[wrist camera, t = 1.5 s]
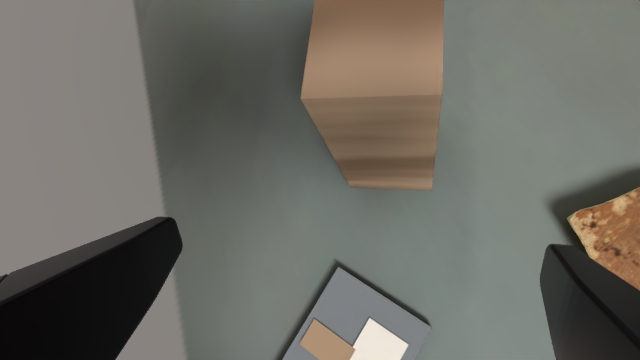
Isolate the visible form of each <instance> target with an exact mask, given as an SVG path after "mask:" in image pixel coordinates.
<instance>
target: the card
mask: <svg viewBox="0 0 640 360" xmlns="http://www.w3.org/2000/svg"><path fill="white" fill-rule="evenodd" d="M431 329H432V327H430V326H429V325H427V324H426V323H424V322H423V321H421V320H420V319H418V318H417V317H415V316H413V315H412V314H410V313H409V312H407V311H406V310H404V309H403V308H401V307H400V306H398V305H397V304H395V303H394V302H392V301H390V300H389V299H387V298H386V297H384V296H383V295H381V294H380V293H378V292H377V291H375V290H374V289H372V288H371V287H369V286H367V285H366V284H364V283H363V282H361V281H360V280H358V279H357V278H355V277H354V276H352V275H351V274H349V273H348V272H346V271H344V270H343V269H341V268H340V267H338V268H337V270H336V271H335V273H334V275H333V276H332V278H331V280H330V281H329V283H328V285H327V286H326V288H325V290H324V291H323V293H322V295H321V296H320V298H319V299H318V301H317V303H316V304H315V306H314V308H313V309H312V311H311V313H310V314H309V316H308V318H307V319H306V321H305V323H304V324H303V326H302V328H301V329H300V331H299V333H298V334H297V336H296V337H295V339H294V341H293V342H292V344H291V346H290V347H289V349H288V351H287V352H286V354H285V356H284V357H283V359H282V360H415V358H416V356H417V354H418V352H419V351H420V349H421V347H422V345H423V343H424V341H425V340H426V338H427V336H428V334H429V332H430V330H431Z"/></svg>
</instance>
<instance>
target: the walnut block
mask: <svg viewBox="0 0 640 360" xmlns="http://www.w3.org/2000/svg"><path fill="white" fill-rule="evenodd" d="M443 22H444V0H315V2H314V9H313V16H312V23H311V30H310V36H309V43H308V50H307V57H306V64H305V70H304V77H303V84H302V91H301V98H300V99H301V101H302V103H303V104H304V106H305V108H306V110H307V111H308V113H309V115H310V117H311V118H312V120H313V122H314V124H315V125H316V127H317V129H318V131H319V133H320V134H321V136H322V138H323V140H324V141H325V143H326V145H327V147H328V148H329V150H330V152H331V154H332V155H333V157H334V159H335V161H336V162H337V164H338V166H339V168H340V170H341V171H342V173H343V175H344V177H345V178H346V180H347V182H348V184H349V185H350V187H354V188H381V189H408V190H432V182H433V173H434V164H435V155H436V146H437V137H438V128H439V120H440V111H441V102H442V83H443Z"/></svg>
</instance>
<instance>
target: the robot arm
mask: <svg viewBox="0 0 640 360" xmlns="http://www.w3.org/2000/svg"><path fill="white" fill-rule="evenodd" d="M182 246H183V244H182V239H181V236H180V233H179V230H178V226H177V223H176V221H175V220H174V219H173V218H171V217H156V218H153V219H151V220H148V221H145V222H143V223H140V224H138V225H135V226H132V227H130V228H127V229H124V230H122V231H119V232H116V233H114V234H112V235H109V236H106V237H103V238H101V239H98V240H96V241H93V242H90V243H88V244H85V245H82V246H80V247H77V248H74V249H72V250H69V251H67V252H64V253H61V254H59V255H56V256H53V257H51V258H48V259H45V260H43V261H40V262H37V263H35V264H32V265H30V266H27V267H24V268H22V269H19V270H16V271H14V272H11V273H10V274H9V275H7V274H6V275H3V276H0V360H115V359H116V358H117V356H118V355H119V353H120V352H121V350H122V349H123V347H124V346H125V344H126V343H127V341H128V340H129V338H130V337H131V335H132V334H133V332H134V331H135V329H136V328H137V326H138V325H139V323H140V322H141V320H142V319H143V317H144V316H145V314H146V313H147V311H148V310H149V308H150V307H151V305H152V303H153V302H154V300H155V299H156V297H157V295H158V293H159V292H160V290H161V288H162V286H163V284H164V283H165V281H166V279H167V277H168V275H169V273H170V271H171V270H172V268H173V266H174V264H175V262H176V260H177V258H178V257H179V255H180V253H181V251H182ZM540 287H541V292H542V297H543V302H544V306H545V311H546V316H547V321H548V326H549V330H550V335H551V340H552V345H553V349H554V353H555V357H556V360H640V290H639V289H637V288H636V287H634V286H633V285H631V284H630V283H628V282H626V281H625V280H623V279H622V278H620V277H619V276H617V275H616V274H614V273H613V272H611V271H610V270H608V269H607V268H605V267H604V266H602V265H601V264H599V263H598V262H596V261H595V260H593V259H592V258H590V257H589V256H587V255H586V254H584V253H582V252H581V251H579V250H578V249H576V248H575V247H573V246H571V245H561V244H550V245H548V246H547V248H546V251H545V255H544V260H543V265H542V269H541V274H540Z"/></svg>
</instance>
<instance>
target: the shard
mask: <svg viewBox="0 0 640 360" xmlns="http://www.w3.org/2000/svg"><path fill="white" fill-rule="evenodd" d="M567 220H568V222H569V223H570V225H571V227H572V228H573V230H574V231H575V233H576V234H577V235H578V237H579V239H580V241H581V242H582V244H583V245H584V247H585V250H586V251H587V253H588V255H589V257H590V258H592V259H593V260H595V261H596V262H598V263H599V264H601V265H602V266H604V267H605V268H607V269H608V270H610V271H611V272H613V273H614V274H616V275H617V276H619V277H620V278H622V279H623V280H625V281H626V282H628V283H630V284H631V285H633V286H634V287H636V288H637V289H639V290H640V187H638V188H636V189H634V190H632V191H630V192H628V193H626V194H624V195H621V196H619V197H617V198H615V199H612V200H609V201H606V202H605V203H602V204H599V205H595V206H592V207H588V208H584V209H580V210H578V211H576V212H574V213H573V214H572V215H570V216H569V217H567Z"/></svg>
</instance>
